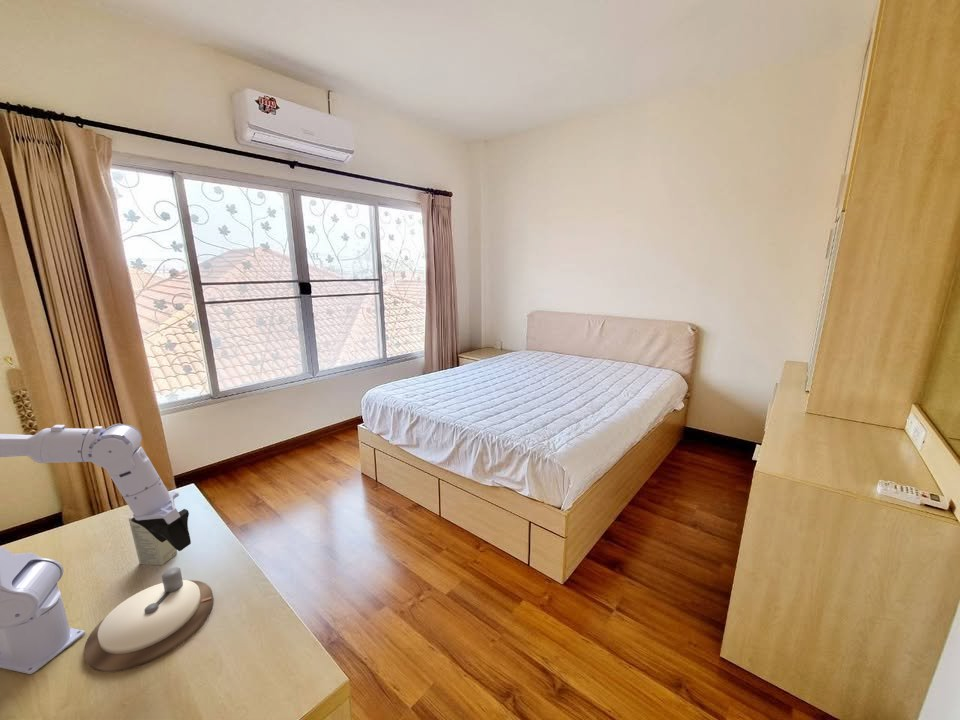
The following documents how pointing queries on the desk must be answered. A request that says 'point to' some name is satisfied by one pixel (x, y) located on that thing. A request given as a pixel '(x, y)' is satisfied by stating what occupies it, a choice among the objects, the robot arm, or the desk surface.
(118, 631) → the dial
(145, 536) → the skincare box
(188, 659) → the desk surface
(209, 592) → the dial base
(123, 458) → the robot arm
